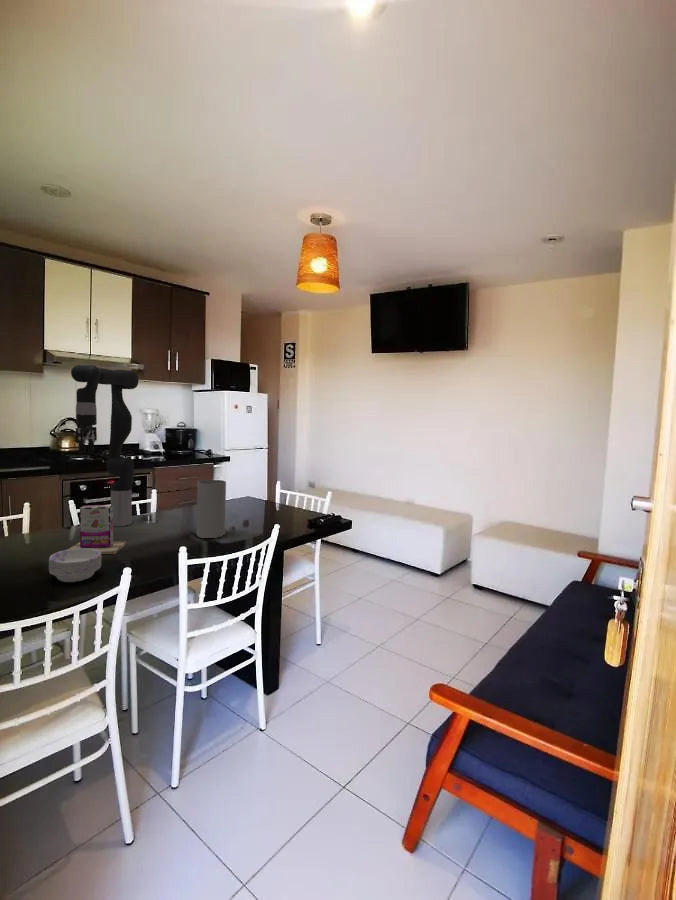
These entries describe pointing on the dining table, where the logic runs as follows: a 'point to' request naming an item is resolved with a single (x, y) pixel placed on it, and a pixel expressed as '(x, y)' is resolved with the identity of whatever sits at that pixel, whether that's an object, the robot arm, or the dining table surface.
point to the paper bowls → (74, 564)
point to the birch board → (106, 550)
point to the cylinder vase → (211, 508)
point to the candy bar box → (96, 526)
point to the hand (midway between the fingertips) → (86, 452)
